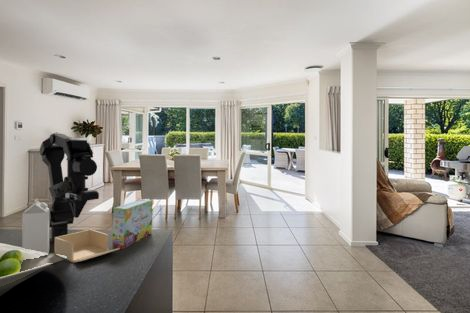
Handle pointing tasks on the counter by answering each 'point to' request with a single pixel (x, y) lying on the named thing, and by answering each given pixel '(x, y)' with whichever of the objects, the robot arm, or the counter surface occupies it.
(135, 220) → the snack box
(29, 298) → the counter surface
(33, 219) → the milk carton
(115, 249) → the front flap
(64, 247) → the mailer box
